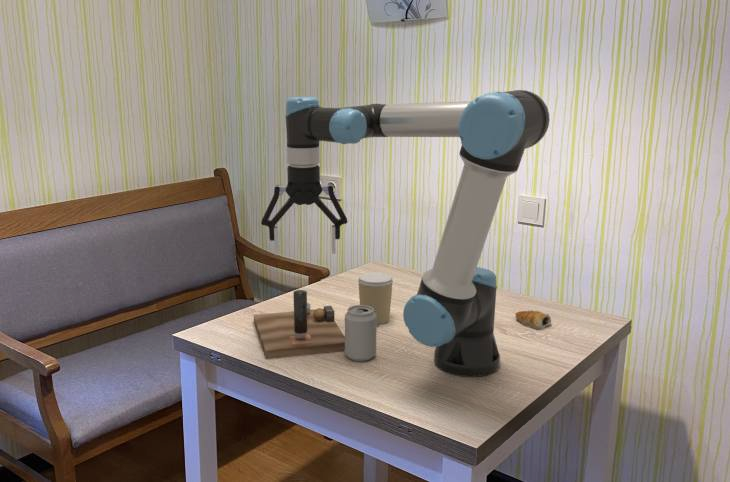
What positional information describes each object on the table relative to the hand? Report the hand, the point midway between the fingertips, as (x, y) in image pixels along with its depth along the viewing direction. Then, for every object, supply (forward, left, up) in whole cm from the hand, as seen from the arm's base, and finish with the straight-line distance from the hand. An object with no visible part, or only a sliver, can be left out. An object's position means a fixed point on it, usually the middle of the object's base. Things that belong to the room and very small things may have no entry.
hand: (305, 253), depth 170 cm
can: (-11, -11, -24) cm, 28 cm away
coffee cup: (+11, -21, -24) cm, 34 cm away
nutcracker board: (+5, +1, -23) cm, 24 cm away
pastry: (-2, -61, -24) cm, 66 cm away
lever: (+7, 0, -21) cm, 22 cm away
